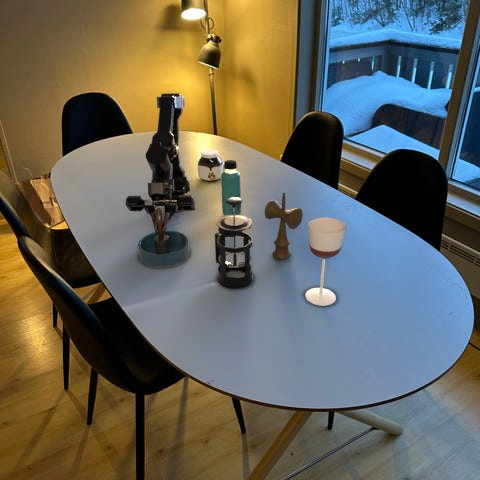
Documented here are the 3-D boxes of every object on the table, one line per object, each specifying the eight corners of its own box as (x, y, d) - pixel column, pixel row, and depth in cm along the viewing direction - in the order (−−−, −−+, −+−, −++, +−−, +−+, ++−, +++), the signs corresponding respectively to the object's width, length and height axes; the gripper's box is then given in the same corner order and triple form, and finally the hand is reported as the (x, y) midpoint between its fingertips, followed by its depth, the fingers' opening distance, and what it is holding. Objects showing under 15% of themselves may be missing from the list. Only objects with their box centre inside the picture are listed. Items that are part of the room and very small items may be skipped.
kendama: (288, 266, 124) (291, 200, 115) (262, 254, 130) (263, 191, 121) (301, 258, 128) (305, 194, 118) (275, 247, 133) (277, 184, 124)
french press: (262, 279, 118) (263, 199, 108) (238, 294, 112) (237, 212, 102) (230, 263, 125) (228, 187, 115) (205, 277, 119) (201, 198, 109)
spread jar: (196, 182, 181) (195, 154, 176) (203, 172, 191) (202, 146, 186) (225, 183, 179) (224, 156, 174) (230, 174, 189) (230, 147, 184)
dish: (131, 252, 131) (129, 239, 130) (174, 238, 139) (173, 226, 137) (152, 273, 121) (151, 260, 119) (198, 257, 128) (197, 244, 127)
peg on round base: (154, 251, 128) (149, 206, 121) (167, 248, 129) (163, 204, 123) (158, 257, 125) (153, 212, 118) (171, 254, 126) (167, 209, 120)
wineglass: (300, 288, 115) (304, 218, 105) (333, 286, 115) (340, 216, 106) (306, 307, 107) (312, 234, 98) (342, 305, 108) (350, 232, 99)
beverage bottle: (239, 222, 149) (238, 165, 139) (219, 220, 150) (218, 163, 141) (243, 213, 154) (242, 158, 145) (224, 212, 155) (222, 157, 146)
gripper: (122, 168, 120) (118, 223, 115) (191, 167, 120) (190, 223, 115) (131, 184, 130) (128, 236, 125) (195, 184, 130) (194, 235, 125)
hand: (159, 232), depth 122 cm, fingers closed on peg on round base, 2 cm apart
